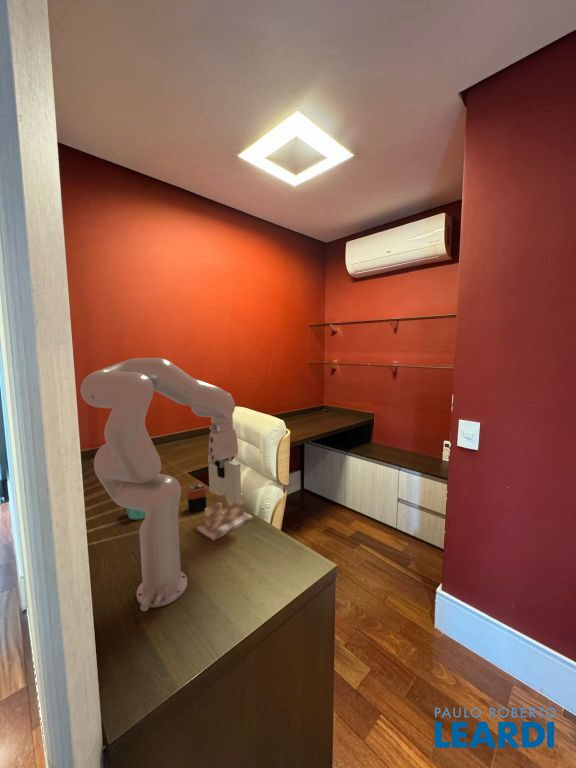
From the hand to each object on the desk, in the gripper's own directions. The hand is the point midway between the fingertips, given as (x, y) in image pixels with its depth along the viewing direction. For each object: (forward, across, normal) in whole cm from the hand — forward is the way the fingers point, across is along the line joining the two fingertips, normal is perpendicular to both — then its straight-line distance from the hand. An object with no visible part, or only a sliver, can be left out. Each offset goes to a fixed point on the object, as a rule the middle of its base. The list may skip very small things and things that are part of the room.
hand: (224, 475), depth 113 cm
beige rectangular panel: (+8, 0, 0) cm, 8 cm away
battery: (+19, 0, +18) cm, 26 cm away
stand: (+19, 0, 0) cm, 19 cm away
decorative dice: (+19, -17, +32) cm, 41 cm away
